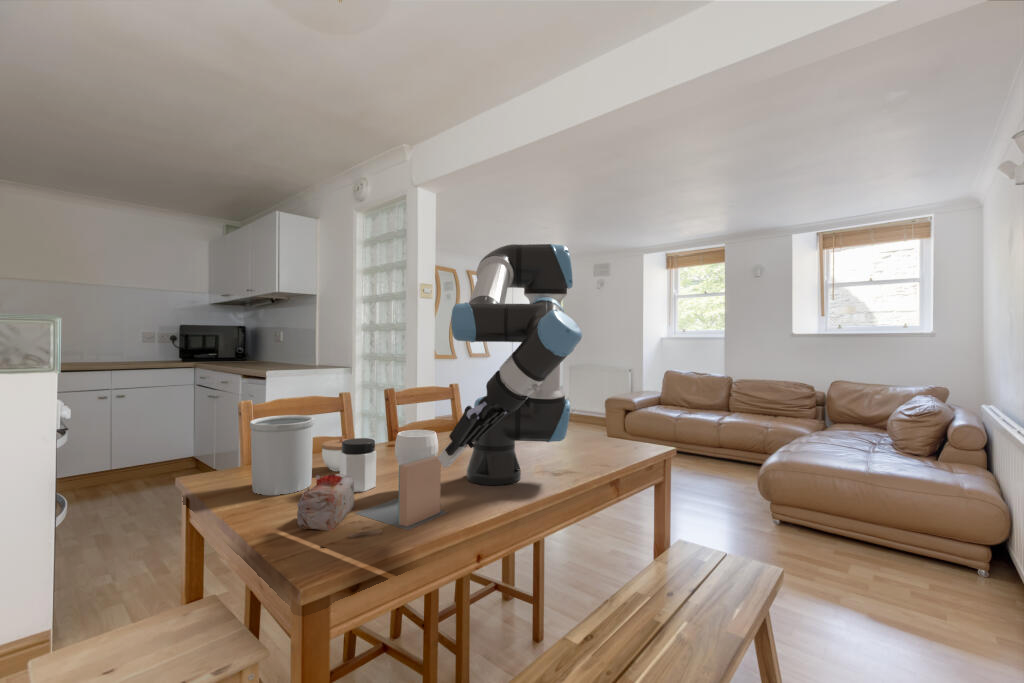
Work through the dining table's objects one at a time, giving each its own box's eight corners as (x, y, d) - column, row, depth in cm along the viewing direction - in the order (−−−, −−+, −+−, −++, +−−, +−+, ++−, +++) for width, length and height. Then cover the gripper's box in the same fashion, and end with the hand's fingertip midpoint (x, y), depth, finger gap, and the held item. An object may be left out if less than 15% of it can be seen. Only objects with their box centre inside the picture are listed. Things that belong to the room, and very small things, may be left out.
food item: (335, 535, 91) (335, 484, 91) (293, 535, 91) (294, 484, 91) (357, 511, 105) (357, 466, 105) (321, 510, 104) (321, 466, 105)
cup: (413, 503, 110) (414, 439, 110) (385, 494, 116) (386, 433, 116) (446, 492, 118) (447, 432, 118) (418, 484, 124) (418, 427, 125)
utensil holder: (284, 499, 111) (285, 425, 112) (234, 493, 115) (235, 422, 116) (325, 482, 126) (326, 416, 126) (279, 477, 130) (280, 413, 130)
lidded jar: (316, 473, 133) (316, 440, 134) (327, 464, 144) (328, 433, 144) (354, 473, 134) (355, 440, 134) (363, 464, 145) (363, 433, 145)
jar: (380, 489, 120) (380, 442, 120) (348, 495, 115) (349, 446, 115) (366, 480, 127) (367, 436, 127) (336, 486, 122) (336, 440, 122)
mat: (448, 514, 102) (448, 512, 102) (407, 532, 92) (408, 529, 92) (396, 500, 111) (396, 498, 111) (354, 516, 101) (354, 513, 101)
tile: (440, 512, 102) (440, 457, 102) (406, 526, 94) (407, 466, 94) (431, 510, 104) (432, 455, 104) (398, 524, 95) (398, 464, 95)
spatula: (380, 532, 93) (380, 527, 93) (382, 539, 89) (382, 533, 89) (320, 541, 88) (320, 536, 88) (320, 549, 85) (320, 543, 85)
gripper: (506, 401, 79) (430, 484, 88) (543, 395, 90) (473, 470, 98) (481, 368, 82) (410, 452, 91) (520, 367, 93) (454, 442, 101)
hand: (443, 461), depth 95 cm, fingers closed
